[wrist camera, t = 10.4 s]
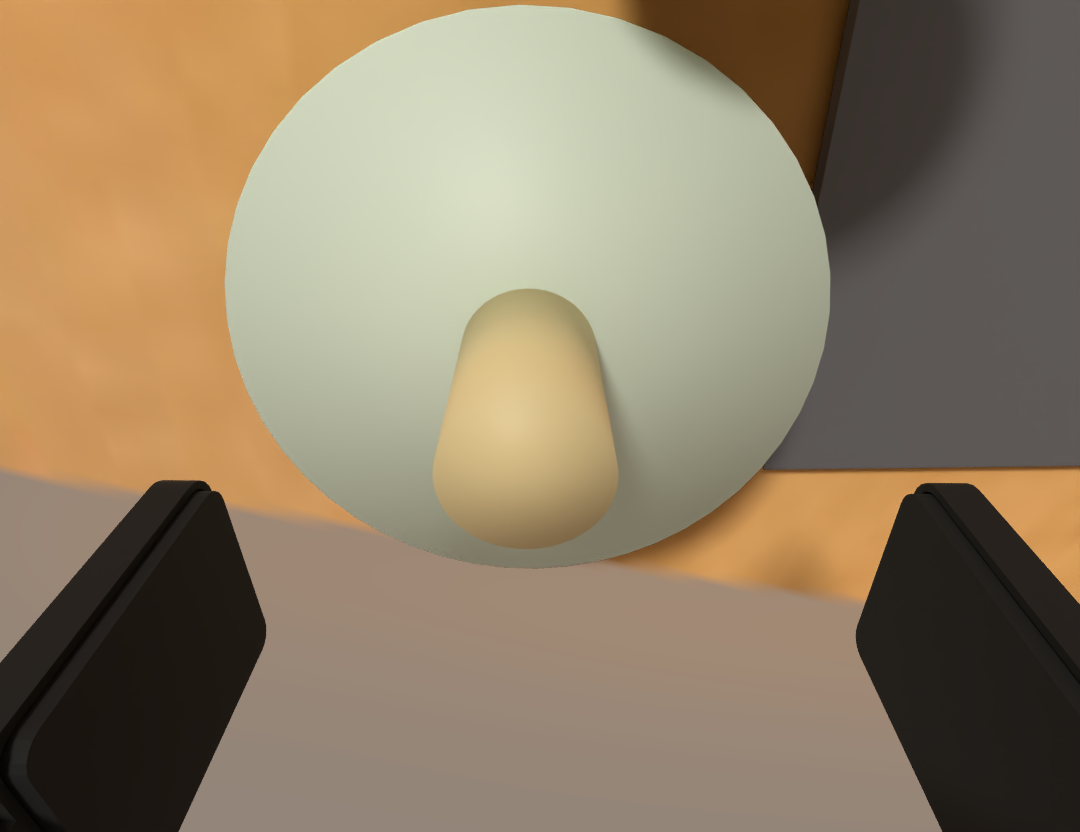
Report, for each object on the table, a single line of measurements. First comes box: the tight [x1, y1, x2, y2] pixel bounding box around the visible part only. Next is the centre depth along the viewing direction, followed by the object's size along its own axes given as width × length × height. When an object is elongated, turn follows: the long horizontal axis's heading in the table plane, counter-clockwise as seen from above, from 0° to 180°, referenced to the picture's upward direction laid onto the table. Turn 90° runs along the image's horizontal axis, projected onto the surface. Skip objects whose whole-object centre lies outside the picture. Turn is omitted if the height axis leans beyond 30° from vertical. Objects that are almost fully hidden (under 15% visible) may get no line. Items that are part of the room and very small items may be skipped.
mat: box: [762, 0, 1080, 470], centre depth 20 cm, size 15×15×1 cm
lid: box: [225, 5, 830, 568], centre depth 14 cm, size 14×14×6 cm
